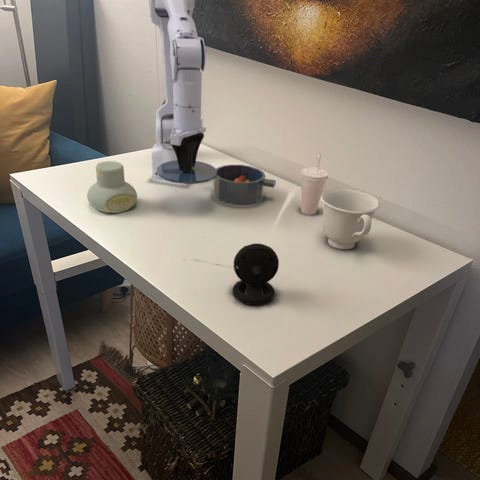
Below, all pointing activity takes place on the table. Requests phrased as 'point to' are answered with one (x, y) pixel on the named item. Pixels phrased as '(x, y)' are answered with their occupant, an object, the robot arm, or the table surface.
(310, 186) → the smoothie
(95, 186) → the air freshener
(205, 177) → the pot lid
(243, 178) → the hot dog
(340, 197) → the teacup
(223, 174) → the pot
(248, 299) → the webcam
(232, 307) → the table surface
